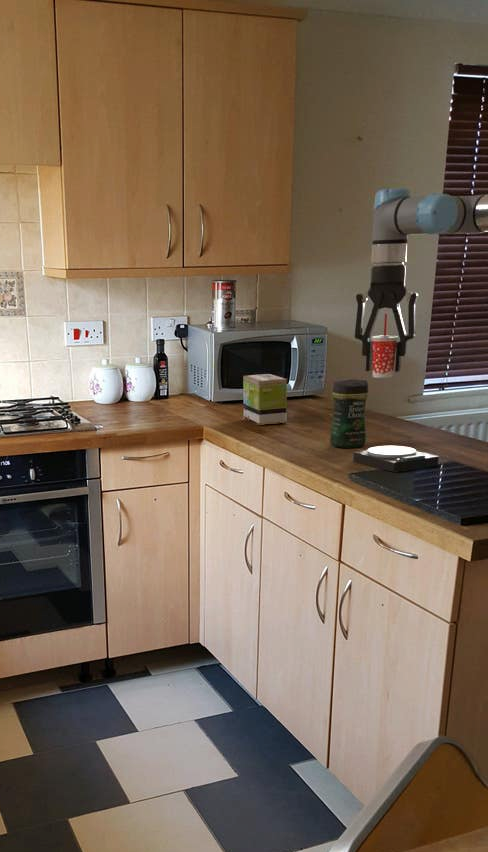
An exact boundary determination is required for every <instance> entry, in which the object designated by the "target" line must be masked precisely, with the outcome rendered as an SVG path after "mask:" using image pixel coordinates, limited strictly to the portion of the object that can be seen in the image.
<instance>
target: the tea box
mask: <svg viewBox="0 0 488 852" xmlns="http://www.w3.org/2000/svg"><path fill="white" fill-rule="evenodd" d="M242 379H243V380H242V381H243V382H242V384H243V386H242V387H243V391H242V392H243V417H244V416H245V417H247V418H249V419H251V420H253V421H255V422H257V423H269V422H281V421H286V422H287V409H288V407H287V406H288V404H287V400H288V399H287V396H288V393H287V389H288V380H287V378H284V377H281V376H278V375H274V374H271V373H263V374H262V373H261V374H252V375H250V374H249V375H243V377H242Z"/></svg>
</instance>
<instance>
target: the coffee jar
mask: <svg viewBox="0 0 488 852" xmlns="http://www.w3.org/2000/svg"><path fill="white" fill-rule="evenodd" d="M331 394H332V398H333V403H334V404H333V415H332V416H333V417H332V424H331V429H330V438H329V440H330V441H329V443H330V445H331V446H333V447H334V448H337V447H338V448H341V449H342V448H344V449H345V448H346V449H350V448H359V447H360V448H361V447H364V446H365V445H366V443H367V430H366V403H367V400H368V397H369V383H368V380H365V379H361V378H346V379H338V380H335V381H334V383H333V387H332V393H331Z"/></svg>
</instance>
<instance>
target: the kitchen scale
mask: <svg viewBox="0 0 488 852" xmlns="http://www.w3.org/2000/svg"><path fill="white" fill-rule="evenodd" d="M352 459H353V461H352V462H353V463H357V464H361V465H364V466H367V467H370V468H375V469H377V470H382V471H385V470H389V471H393V472H396V471H403V472H405V471H404V470H410V471H415V470H414V469H416V470H420V469H419V468H423V469H425V468H424V467H429V468H432V467H431V466H436V467H438V466H439V459H440V456H439V455H436V454H431V453H427V452H423V451H417V450H416V449H415V448H412V447H409V446H402V445H377V446H372V447H369V448H368V449H367V450H360V451H354V452H353V458H352ZM437 465H438V466H437ZM389 471H388V472H389ZM393 472H392V473H393Z"/></svg>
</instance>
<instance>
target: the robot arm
mask: <svg viewBox="0 0 488 852" xmlns="http://www.w3.org/2000/svg"><path fill="white" fill-rule="evenodd" d="M374 195H375V196H374V202H373V203H374V204H373V210H372V214H373V218H372V219H373V220H372V221H373V222H372V223H373V224H372V243H371V244H372V246H371V264H373V266H372V267H370V284H369V285H370V286H369V288H368V290H367V291H366V292H362V293H358V294H356V295H355V299H356V303H357V310H356V318H355V327H354V328H355V329H354V339H357V340H360V341H361V343H362V344H361V355H362V357H365V372H370V371H372V341H371V337H372V336H371V335H372V333H373V330H374V327H375V324H376V322H377V319H378V316H379V313H380V311H381V309H385V308H386V309H391V310H392V314H393V318H394V321H395V324H396V329H397V334H398V336H399V340H397V345H396V354H395V363H394V372H397V373H399V372H400V371H401V363H402V357H405V356H406V354H407V344H408V341H410V340H412V339H414V338H416V303H417V301H418V298H419V293H418V292H412V291H409V290H407V287H406V273H407V272H406V270H407V266H406V265H404V264H405V263H407V253H408V238H409V237H408V236H411V235H415V236H416V235H443V234H444V235H452V234H458V235H459V234H460V235H461V234H462V235H479V234H483V233H488V194H476V195H450V194H447V193H431V194H428V195H420V196H413V197H411V191H410V190H409V189H408V188H399V187H398V188H385V189H380V190H378V191H377V192H375V194H374ZM405 297H406V302H408V309H407V310H408V311H407V313H408V314H407V316H408V318H407V319H408V320H407V321H408V322H407V323H408V329H407V330H408V333H407V331H406V327H405V323H404V320H403V319H404V318H403V315H402V312H401V306H400V303H401V302H402V300H403V299H404V298H405ZM368 298H369V299H370V300H371V302H372V304H373V306H372V309H371V312H370V316H369V318H368V322H367V324H366V327H365V330H364V333H363V328H364V320H365V319H364V318H365V309H366V303H367V302H368Z"/></svg>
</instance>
